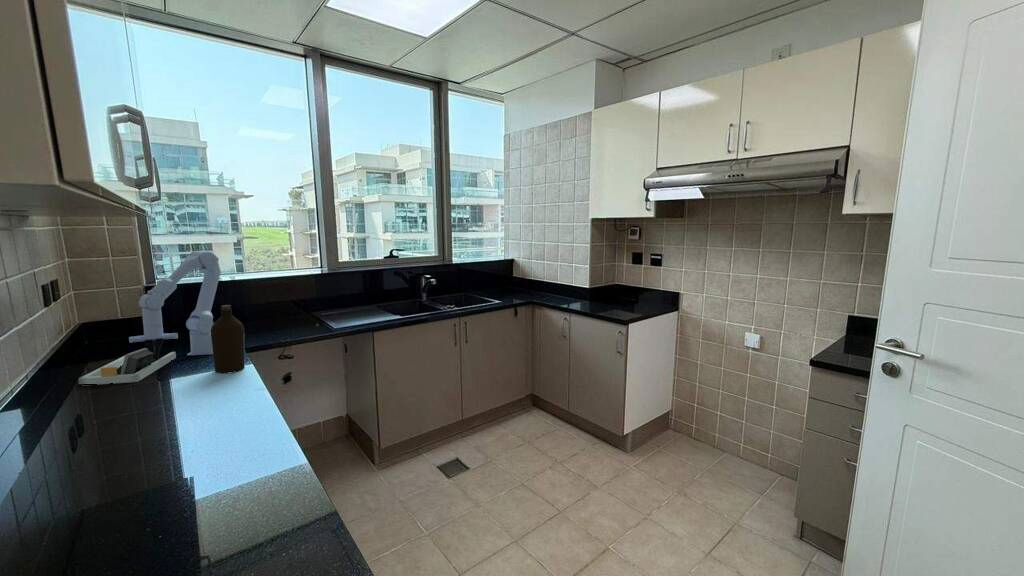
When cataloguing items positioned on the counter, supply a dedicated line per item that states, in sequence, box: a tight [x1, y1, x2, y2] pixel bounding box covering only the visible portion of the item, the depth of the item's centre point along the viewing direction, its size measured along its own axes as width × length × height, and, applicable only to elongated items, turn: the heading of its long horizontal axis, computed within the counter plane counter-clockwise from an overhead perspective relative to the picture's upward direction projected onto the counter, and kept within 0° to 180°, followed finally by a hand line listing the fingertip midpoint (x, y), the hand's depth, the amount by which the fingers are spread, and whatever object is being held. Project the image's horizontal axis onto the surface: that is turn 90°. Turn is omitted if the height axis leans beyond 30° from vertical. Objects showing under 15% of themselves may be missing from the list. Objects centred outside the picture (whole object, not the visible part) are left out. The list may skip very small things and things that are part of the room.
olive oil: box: [211, 304, 245, 374], centre depth 158 cm, size 11×11×25 cm
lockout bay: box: [78, 351, 177, 385], centre depth 156 cm, size 16×29×6 cm, turn 18°
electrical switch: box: [119, 347, 154, 375], centre depth 151 cm, size 9×5×9 cm, turn 5°
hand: (155, 357), depth 165 cm, fingers closed
